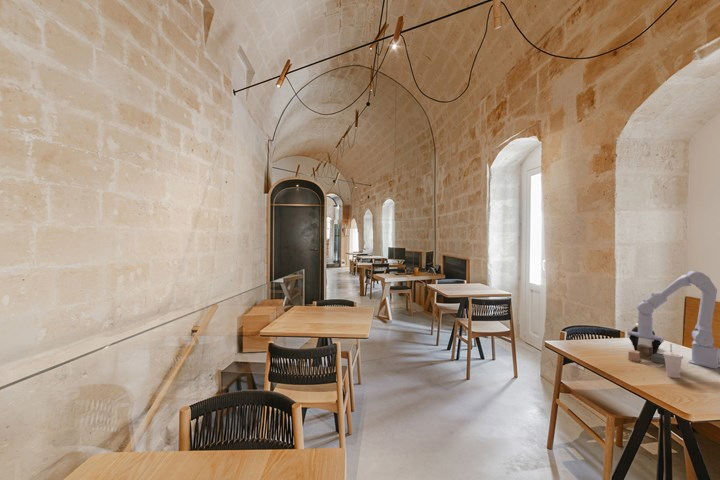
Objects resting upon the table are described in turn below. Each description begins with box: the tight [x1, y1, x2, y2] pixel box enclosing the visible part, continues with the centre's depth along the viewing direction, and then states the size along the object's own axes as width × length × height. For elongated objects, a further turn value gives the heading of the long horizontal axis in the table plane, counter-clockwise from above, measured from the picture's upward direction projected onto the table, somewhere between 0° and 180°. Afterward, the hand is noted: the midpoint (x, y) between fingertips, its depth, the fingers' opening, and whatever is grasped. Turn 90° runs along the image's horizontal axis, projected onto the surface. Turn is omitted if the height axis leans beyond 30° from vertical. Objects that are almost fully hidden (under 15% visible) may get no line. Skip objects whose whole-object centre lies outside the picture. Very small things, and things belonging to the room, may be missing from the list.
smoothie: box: [662, 343, 684, 379], centre depth 148 cm, size 6×6×14 cm
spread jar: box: [631, 322, 656, 346], centre depth 189 cm, size 12×11×12 cm
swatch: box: [639, 359, 665, 368], centre depth 162 cm, size 7×7×1 cm
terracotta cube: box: [627, 349, 641, 363], centre depth 168 cm, size 4×4×4 cm
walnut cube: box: [637, 344, 653, 358], centre depth 174 cm, size 5×5×5 cm
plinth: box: [650, 352, 666, 366], centre depth 164 cm, size 7×7×4 cm
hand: (645, 352), depth 174 cm, fingers open, 7 cm apart
